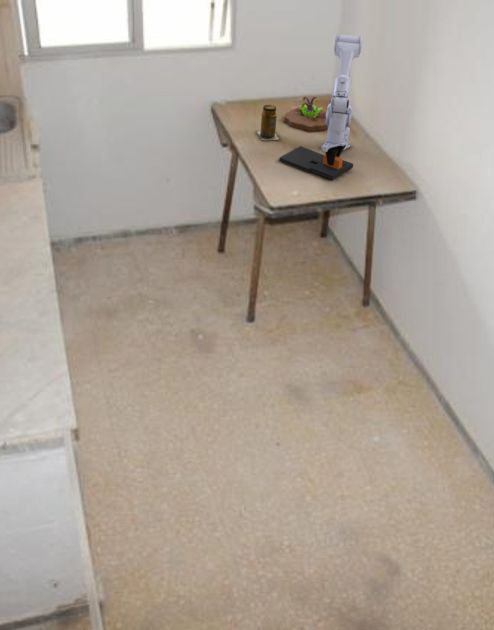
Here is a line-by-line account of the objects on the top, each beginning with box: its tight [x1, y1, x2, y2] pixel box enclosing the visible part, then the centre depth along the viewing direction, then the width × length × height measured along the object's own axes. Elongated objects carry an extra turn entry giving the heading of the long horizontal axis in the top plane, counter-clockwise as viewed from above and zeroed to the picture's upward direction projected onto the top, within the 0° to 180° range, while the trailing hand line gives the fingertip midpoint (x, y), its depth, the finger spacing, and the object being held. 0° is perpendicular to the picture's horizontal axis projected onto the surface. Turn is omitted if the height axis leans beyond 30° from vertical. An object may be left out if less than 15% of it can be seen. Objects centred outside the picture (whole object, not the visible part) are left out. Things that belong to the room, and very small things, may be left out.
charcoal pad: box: [310, 153, 354, 181], centre depth 270 cm, size 14×13×5 cm
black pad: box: [278, 145, 325, 174], centre depth 277 cm, size 14×14×2 cm
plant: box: [283, 96, 329, 133], centre depth 304 cm, size 20×20×11 cm
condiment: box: [256, 104, 280, 141], centre depth 290 cm, size 7×8×12 cm
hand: (332, 163), depth 270 cm, fingers closed on charcoal pad, 2 cm apart
